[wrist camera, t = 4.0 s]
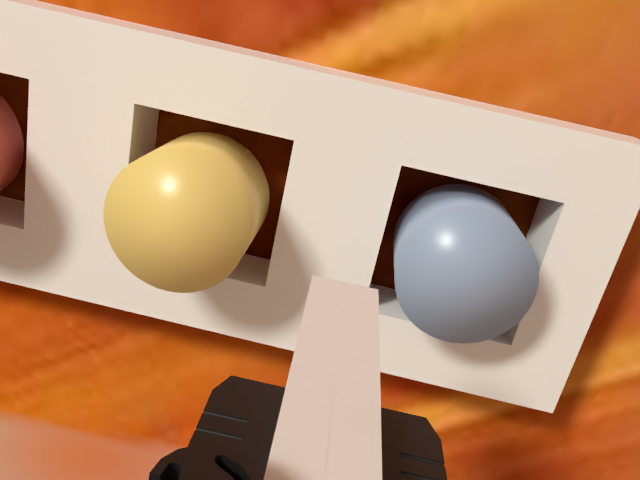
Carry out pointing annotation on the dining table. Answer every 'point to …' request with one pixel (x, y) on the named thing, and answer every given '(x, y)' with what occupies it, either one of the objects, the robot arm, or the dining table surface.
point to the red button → (9, 145)
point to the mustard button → (186, 211)
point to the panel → (305, 190)
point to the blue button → (462, 265)
